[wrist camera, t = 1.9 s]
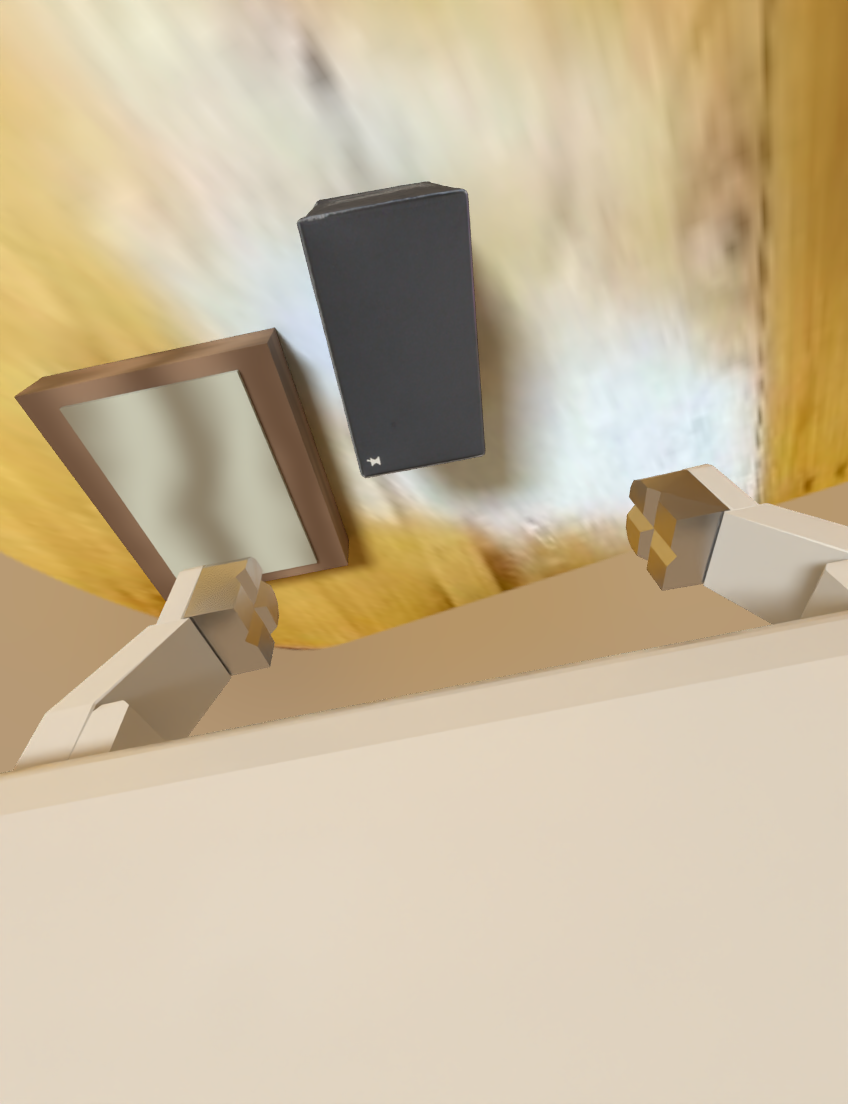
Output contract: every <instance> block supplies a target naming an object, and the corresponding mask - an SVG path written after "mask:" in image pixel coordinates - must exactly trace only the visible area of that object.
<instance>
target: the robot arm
mask: <svg viewBox="0 0 848 1104" xmlns="http://www.w3.org/2000/svg"><path fill="white" fill-rule="evenodd" d="M629 498H630V499H631V500H632V501H633V503H634V504H635V505H634V507H633V508H632V509H631V510H630V512H629V513H628V514H627V521H626V530H627V536H628V540H629V543H630V545H631V547H632V549H633V550H634V552H635V553H636V555H637V556H639V557H641V558H643V559H646V560H648V564H647V570H648V572H649V573H650V575H651V576H652V577H653V579H654V580H655V581H656V583H657V584H658V586H659V587H660V589H661V590H669V589H674V588H681V587H687V586H692V585H698V584H704V586H705V587H707V588H709V589H711V590H712V591H714V592H716V593H718V594H720V595H721V596H723V597H725V598H727V599H728V600H730V601H732V602H734V603H736V604H737V605H739V606H741V607H743V608H744V609H746V610H748V611H750V612H752V613H753V614H755V615H757V616H759V617H760V618H762V619H764V620H766V621H767V622H769V623H771V624H773V625H769V626H763V627H758V628H753V629H749V630H743V631H738V632H732V633H727V634H722V635H717V636H712V637H707V638H702V639H696V640H692V641H686V642H681V643H676V644H670V645H665V646H660V647H655V648H650V649H644V650H639V651H634V652H628V653H623V654H618V655H613V656H607V657H603V658H597V659H592V660H587V661H581V662H576V663H571V664H565V665H560V666H555V667H550V668H545V669H539V670H534V671H529V672H523V673H518V674H513V675H508V676H503V677H498V678H492V679H487V680H482V681H477V682H472V683H466V684H462V685H456V686H451V687H446V688H440V689H436V690H430V691H425V692H420V693H415V694H409V695H404V696H399V697H394V698H389V699H383V700H379V701H373V702H368V703H363V704H357V705H352V706H347V707H342V708H336V709H331V710H326V711H321V712H316V713H310V714H305V715H300V716H295V717H290V718H284V719H279V720H274V721H269V722H264V723H259V724H253V725H248V726H243V727H237V728H232V729H228V730H222V731H217V732H212V733H206V734H202V735H196V736H191V737H188V736H189V734H190V733H191V731H192V730H193V729H194V727H195V726H196V725H197V723H198V722H199V721H200V719H201V718H202V717H203V715H204V714H205V713H206V711H207V710H208V709H209V707H210V706H211V705H212V703H213V702H214V701H215V699H216V698H217V696H218V695H219V694H220V693H221V691H222V690H223V688H224V687H225V686H226V684H227V683H228V682H229V680H230V679H231V676H232V675H236V674H241V673H245V672H250V671H254V670H259V669H263V668H268V667H270V664H271V659H272V654H273V648H274V643H275V642H274V640H273V639H272V637H271V635H270V634H271V633H272V632H273V631H274V630H275V628H276V627H277V625H278V619H279V612H278V603H277V599H276V596H275V593H274V591H273V589H272V587H271V585H269V584H267V583H265V582H263V581H262V580H261V577H262V572H263V570H262V568H261V566H260V565H259V563H258V561H257V559H255V558H253V557H247V558H242V559H236V560H231V561H225V562H219V563H214V564H208V565H203V566H198V567H193V568H188V569H184V570H183V571H181V572H179V574H178V576H177V579H176V581H175V583H174V585H173V588H172V590H171V592H170V594H169V597H168V599H167V601H166V603H165V606H164V608H163V610H162V612H161V615H160V617H159V619H158V621H157V624H155V625H151V626H148V627H147V628H146V629H145V630H143V631H142V632H141V633H140V634H139V635H138V636H136V637H135V638H134V639H133V640H132V641H130V643H128V644H127V645H126V646H125V647H124V648H122V649H121V650H120V651H119V652H118V653H116V654H115V655H114V656H113V657H112V658H110V659H109V660H108V661H107V662H106V663H104V664H103V665H102V666H101V667H100V668H99V669H97V670H96V671H95V672H94V673H93V674H92V675H90V676H89V677H88V678H87V679H86V680H84V682H82V683H81V684H80V685H79V686H77V687H76V688H75V689H74V690H73V691H72V692H70V693H69V694H68V695H67V696H66V697H65V698H63V699H62V700H61V701H60V702H58V703H57V704H56V705H55V706H54V707H53V708H51V709H50V710H49V711H48V712H47V713H46V714H45V715H44V717H43V719H42V720H41V722H40V724H39V726H38V728H37V729H36V731H35V733H34V734H33V736H32V738H31V740H30V741H29V743H28V745H27V747H26V749H25V750H24V752H23V754H22V755H21V757H20V759H19V761H18V762H17V764H16V766H15V768H14V769H13V771H8V772H3V773H0V1104H848V526H844V525H841V524H837V523H834V522H830V521H827V520H824V519H820V518H817V517H813V516H810V515H806V514H803V513H799V512H796V511H792V510H789V509H785V508H782V507H779V506H775V505H772V504H768V503H766V504H760V505H759V504H758V503H757V502H755V501H754V500H753V499H752V498H751V497H750V496H748V495H747V494H746V493H745V492H744V491H742V490H741V489H740V488H739V487H738V486H737V485H735V484H734V483H733V482H732V481H731V480H729V479H728V478H727V477H726V476H725V475H724V474H722V473H721V472H720V471H719V470H718V469H716V468H715V467H714V466H712V465H708V464H704V465H700V466H695V467H691V468H687V469H682V470H681V471H676V472H671V473H667V474H662V475H657V476H652V477H648V478H643V479H638V480H634V481H633V483H632V485H631V488H630V495H629Z"/></svg>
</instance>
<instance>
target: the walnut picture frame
mask: <svg viewBox="0 0 848 1104" xmlns="http://www.w3.org/2000/svg"><path fill="white" fill-rule="evenodd" d="M15 399H16V400H17V401H18V403H19V404H20V405H21V407H22V408H23V409H24V411H25V412H26V413H27V415H28V416H29V418H30V419H31V420H32V422H33V423H34V424H35V426H36V427H37V428H38V430H39V431H40V432H41V434H42V435H43V436H44V438H45V439H46V440H47V442H48V443H49V444H50V446H51V447H52V449H53V450H54V451H55V453H56V454H57V455H58V457H59V458H60V459H61V461H62V462H63V463H64V465H65V466H66V467H67V469H68V470H69V471H70V473H71V474H72V475H73V477H74V478H75V480H76V481H77V482H78V484H79V485H80V486H81V488H82V489H83V490H84V492H85V493H86V494H87V496H88V497H89V498H90V500H91V501H92V502H93V504H94V505H95V506H96V508H97V509H98V511H99V512H100V513H101V515H102V516H103V517H104V519H105V520H106V521H107V523H108V524H109V525H110V527H111V528H112V529H113V531H114V532H115V533H116V535H117V536H118V537H119V539H120V540H121V542H122V543H123V544H124V546H125V547H126V548H127V550H128V551H129V552H130V554H131V555H132V556H133V558H134V559H135V560H136V562H137V563H138V564H139V566H140V567H141V568H142V570H143V571H144V573H145V574H146V575H147V577H148V578H149V579H150V581H151V582H152V583H153V585H154V586H155V587H156V589H157V590H158V591H159V593H160V594H161V595H162V597H163V598H164V599H165V601H167V599H168V597H169V594H170V592H171V590H172V588H173V585H174V583H175V581H176V579H177V576H178V574H179V572H181V571H183V570H184V569H188V568H193V567H198V566H203V565H208V564H214V563H219V562H225V561H231V560H236V559H242V558H247V557H253V558H255V559H257V561H258V563H259V565H260V566H261V568H262V570H263V572H262V577H261V580H262V581H263V582H265V581H270V580H275V579H280V578H285V577H290V576H295V575H301V574H306V573H311V572H316V571H321V570H326V569H331V568H336V567H341V566H346V565H348V548H349V540H348V537H347V534H346V531H345V528H344V525H343V522H342V520H341V517H340V514H339V511H338V508H337V505H336V502H335V499H334V497H333V494H332V491H331V488H330V485H329V482H328V479H327V476H326V474H325V471H324V468H323V465H322V462H321V459H320V456H319V454H318V451H317V448H316V445H315V442H314V439H313V436H312V433H311V431H310V428H309V425H308V422H307V419H306V416H305V413H304V410H303V408H302V405H301V402H300V399H299V396H298V393H297V390H296V387H295V385H294V382H293V379H292V376H291V373H290V370H289V367H288V364H287V362H286V359H285V356H284V353H283V350H282V347H281V344H280V341H279V339H278V336H277V333H276V330H275V328H271V329H267V330H262V331H257V332H253V333H248V334H243V335H239V336H234V337H229V338H224V339H220V340H215V341H210V342H206V343H201V344H196V345H192V346H187V347H182V348H178V349H173V350H168V351H164V352H159V353H154V354H149V355H145V356H140V357H135V358H131V359H126V360H121V361H117V362H112V363H107V364H103V365H98V366H93V367H89V368H84V369H79V370H74V371H70V372H65V373H60V374H56V375H51V376H46V377H42V378H41V379H39V380H38V381H36V382H35V383H34V384H32V385H31V386H29V387H28V388H26V389H25V390H23V391H22V392H21V393H19V394H18V395H16V396H15Z"/></svg>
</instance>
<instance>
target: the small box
mask: <svg viewBox="0 0 848 1104" xmlns="http://www.w3.org/2000/svg"><path fill="white" fill-rule="evenodd" d="M297 226H298V230H299V233H300V238H301V242H302V246H303V250H304V254H305V258H306V262H307V266H308V270H309V274H310V278H311V282H312V286H313V290H314V293H315V297H316V301H317V305H318V308H319V313H320V317H321V320H322V325H323V329H324V333H325V336H326V340H327V344H328V348H329V352H330V356H331V360H332V364H333V368H334V372H335V376H336V380H337V383H338V387H339V391H340V395H341V398H342V402H343V406H344V411H345V414H346V418H347V422H348V427H349V430H350V434H351V438H352V442H353V445H354V449H355V453H356V457H357V461H358V465H359V469H360V472H361V475H362V476H363V477H364V478H370V477H375V476H379V475H384V474H390V473H396V472H401V471H407V470H411V469H417V468H422V467H427V466H433V465H438V464H443V463H449V462H454V461H460V460H465V459H470V458H475V457H481V456H483V455H484V454H485V441H484V426H483V412H482V397H481V383H480V369H479V354H478V339H477V324H476V309H475V293H474V278H473V262H472V245H471V230H470V215H469V199H468V193H467V191H466V190H464V189H460V188H451V187H447V186H442V185H439V184H434V183H431V182H421V183H414V184H408V185H401V186H397V187H391V188H385V189H380V190H374V191H368V192H364V193H358V194H352V195H346V196H340V197H335V198H330V199H323V200H319V201H317V203H316V204H315V206H314V208H313V209H312V210H311V211H310V212H309V213H308V214H307V216H306V217H304V218H301V219H299V220H298V222H297Z"/></svg>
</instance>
